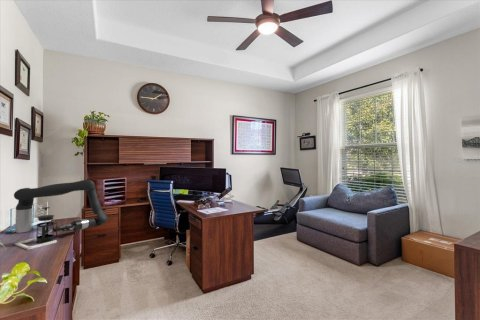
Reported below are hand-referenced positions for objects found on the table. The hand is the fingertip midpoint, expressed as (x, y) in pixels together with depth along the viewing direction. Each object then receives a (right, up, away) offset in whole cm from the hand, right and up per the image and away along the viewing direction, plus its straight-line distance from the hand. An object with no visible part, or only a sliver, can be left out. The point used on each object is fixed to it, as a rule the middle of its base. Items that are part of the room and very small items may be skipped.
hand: (53, 230), depth 161 cm
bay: (-5, -6, -9) cm, 11 cm away
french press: (-2, -6, -4) cm, 8 cm away
